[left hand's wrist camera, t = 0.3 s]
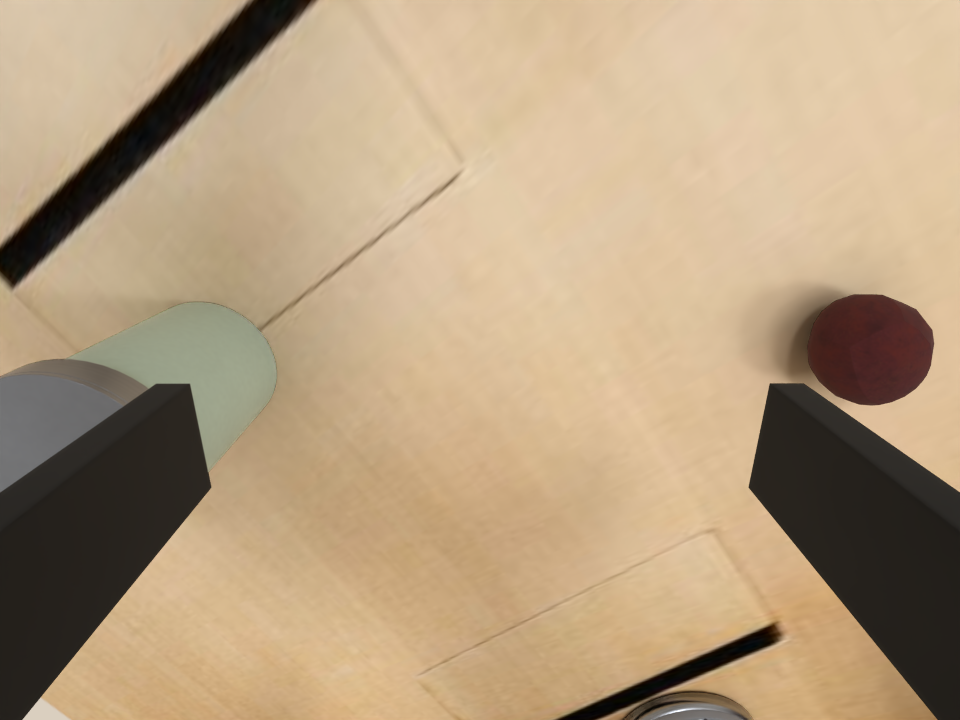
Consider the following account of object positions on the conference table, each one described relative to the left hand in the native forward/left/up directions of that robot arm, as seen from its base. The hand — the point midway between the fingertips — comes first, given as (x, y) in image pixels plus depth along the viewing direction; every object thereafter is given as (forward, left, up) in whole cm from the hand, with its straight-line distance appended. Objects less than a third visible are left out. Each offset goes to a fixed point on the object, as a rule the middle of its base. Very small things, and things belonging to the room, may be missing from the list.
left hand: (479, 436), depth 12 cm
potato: (+6, +27, -28) cm, 39 cm away
